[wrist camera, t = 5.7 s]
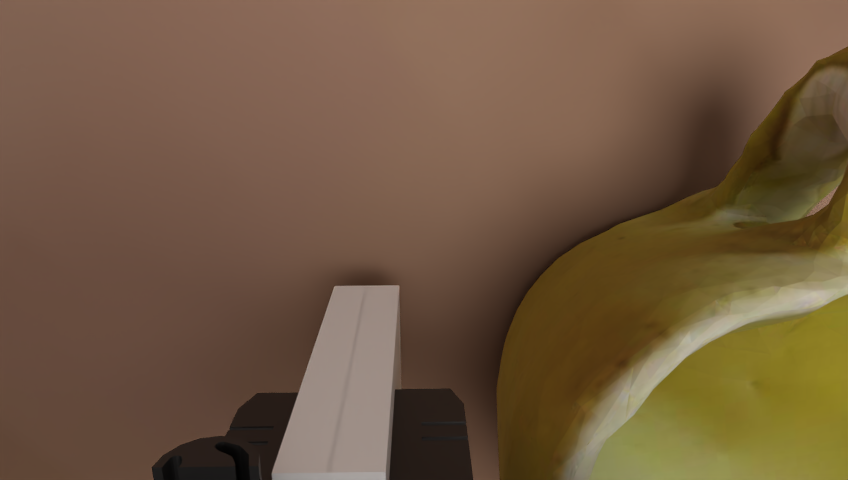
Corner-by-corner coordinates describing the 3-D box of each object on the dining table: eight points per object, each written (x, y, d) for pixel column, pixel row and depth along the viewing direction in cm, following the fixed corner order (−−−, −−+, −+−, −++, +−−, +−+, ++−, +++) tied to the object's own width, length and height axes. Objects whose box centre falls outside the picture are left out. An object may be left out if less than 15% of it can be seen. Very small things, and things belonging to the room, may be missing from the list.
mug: (808, 635, 18) (1096, 1118, 8) (457, 472, 20) (348, 701, 10) (998, 208, 17) (1592, 169, 7) (608, 83, 19) (648, -80, 9)
